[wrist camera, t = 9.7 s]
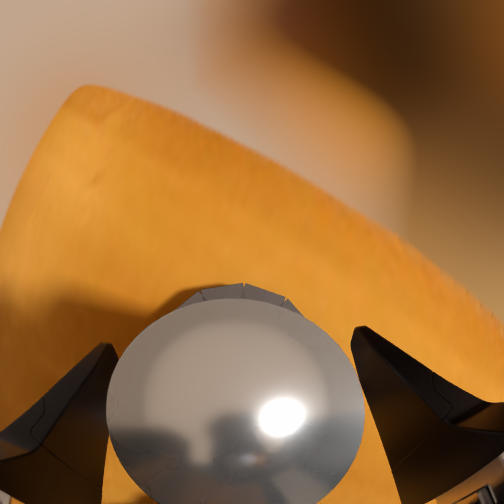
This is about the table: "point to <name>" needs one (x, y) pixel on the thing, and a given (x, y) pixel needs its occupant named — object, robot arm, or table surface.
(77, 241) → the table surface
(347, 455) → the silver metal cylinder
